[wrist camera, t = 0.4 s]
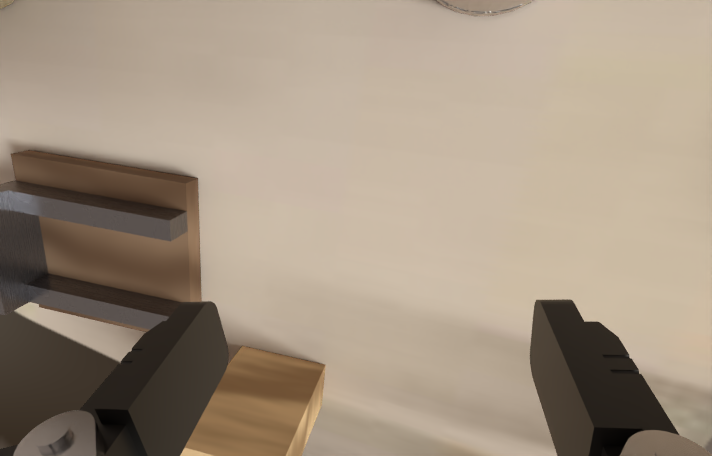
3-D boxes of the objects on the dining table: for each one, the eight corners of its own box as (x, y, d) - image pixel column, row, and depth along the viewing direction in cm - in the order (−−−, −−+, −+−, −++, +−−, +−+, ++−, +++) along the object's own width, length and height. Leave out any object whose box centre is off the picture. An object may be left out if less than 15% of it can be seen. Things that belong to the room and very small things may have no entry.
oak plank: (242, 345, 36) (168, 442, 26) (325, 364, 35) (277, 473, 25) (242, 385, 37) (171, 489, 28) (321, 404, 36) (275, 520, 27)
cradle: (29, 150, 33) (-47, 165, 28) (197, 178, 31) (147, 200, 26) (54, 298, 38) (-7, 333, 33) (202, 332, 36) (160, 375, 31)
